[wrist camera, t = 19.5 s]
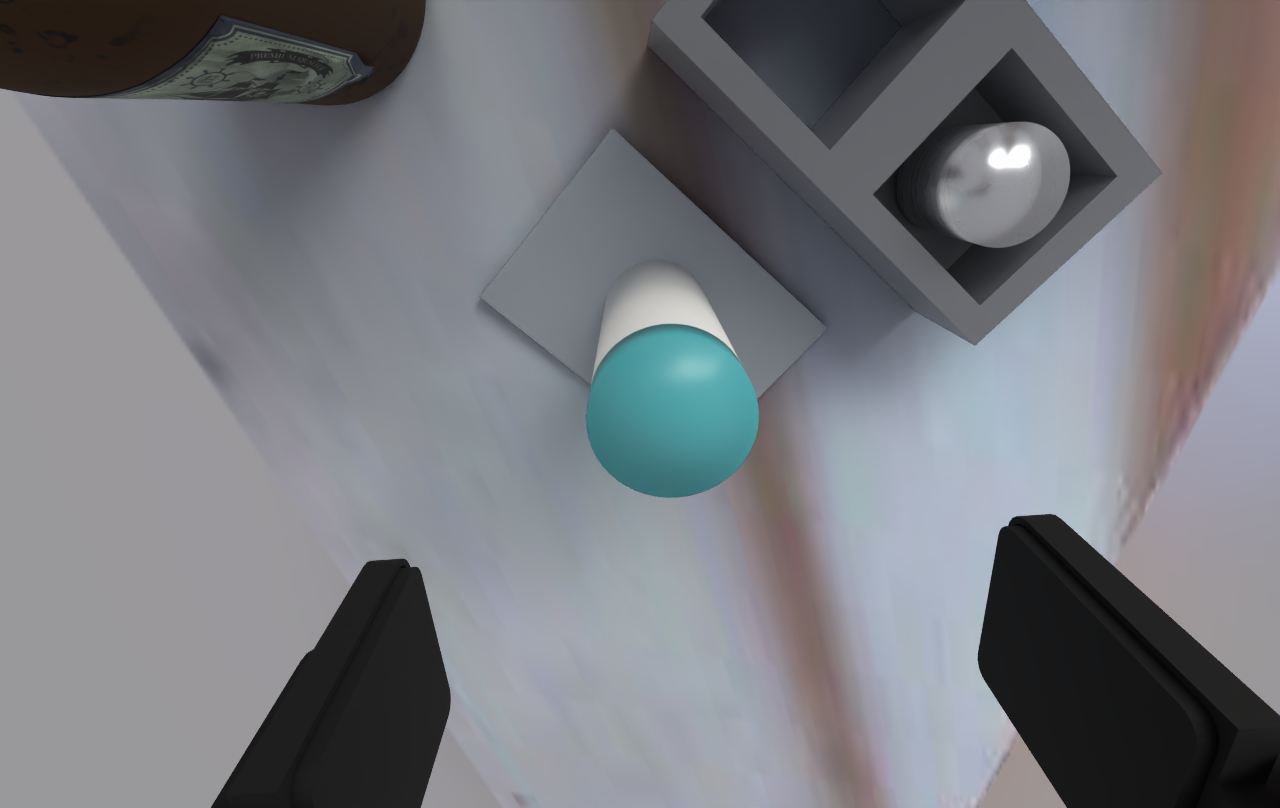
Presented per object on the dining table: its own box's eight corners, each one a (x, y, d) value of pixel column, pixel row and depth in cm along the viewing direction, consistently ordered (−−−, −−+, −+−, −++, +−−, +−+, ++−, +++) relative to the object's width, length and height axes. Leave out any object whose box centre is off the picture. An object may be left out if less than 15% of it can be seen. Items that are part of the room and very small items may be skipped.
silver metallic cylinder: (876, 185, 29) (924, 193, 24) (954, 102, 27) (1021, 93, 23) (940, 252, 30) (998, 271, 25) (1018, 175, 29) (1094, 180, 24)
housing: (647, 45, 28) (651, 20, 23) (796, -148, 26) (843, -230, 20) (915, 311, 33) (975, 345, 27) (1064, 168, 30) (1162, 172, 25)
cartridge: (600, 263, 31) (577, 344, 18) (704, 256, 31) (758, 331, 18) (609, 363, 33) (594, 503, 20) (708, 356, 33) (759, 491, 20)
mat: (481, 294, 32) (479, 296, 31) (612, 128, 29) (612, 127, 29) (690, 460, 36) (691, 465, 35) (824, 325, 33) (827, 328, 32)
